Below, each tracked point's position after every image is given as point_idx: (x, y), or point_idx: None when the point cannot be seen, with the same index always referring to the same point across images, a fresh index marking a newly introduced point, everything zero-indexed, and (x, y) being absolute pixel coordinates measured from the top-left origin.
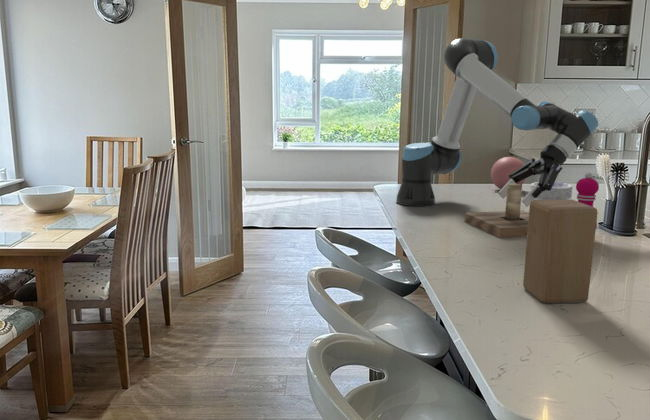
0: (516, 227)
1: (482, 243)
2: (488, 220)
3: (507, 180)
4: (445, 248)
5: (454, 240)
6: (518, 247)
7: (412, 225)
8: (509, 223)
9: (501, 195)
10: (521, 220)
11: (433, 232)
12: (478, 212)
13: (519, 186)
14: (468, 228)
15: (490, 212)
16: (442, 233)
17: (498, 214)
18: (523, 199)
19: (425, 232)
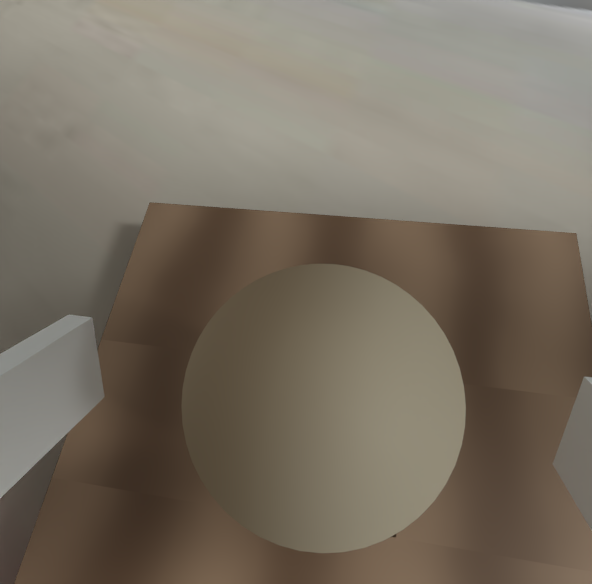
0: (119, 291)
1: (140, 130)
2: (323, 245)
3: None
4: (157, 19)
5: (223, 72)
6: (20, 212)
7: (497, 36)
8: (207, 312)
9: (572, 426)
10: None
11: (358, 58)
12: (587, 329)
13: (187, 389)
14: (382, 203)
15: None
16: (332, 77)
17: (488, 433)
18: (59, 323)
19: (367, 37)
